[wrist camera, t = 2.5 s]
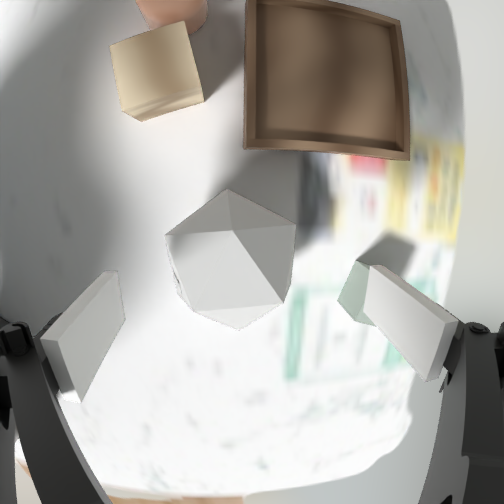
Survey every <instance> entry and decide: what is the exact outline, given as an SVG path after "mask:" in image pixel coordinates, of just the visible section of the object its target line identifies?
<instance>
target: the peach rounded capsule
mask: <svg viewBox="0 0 504 504" xmlns="http://www.w3.org/2000/svg"><path fill="white" fill-rule="evenodd" d="M135 1H136V3H137V5H138V7H139V9H140V11H141V13H142V15H143V17H144V19H145V21H146V23H147V25H148V27H149V29H150V30H153V29H157V28H160V27H163V26H166V25H170V24H173V23H177V22H180V21H184V22H185V26H186V29H187V33H188V35H190V34H192V33H194V32H196V31H197V30H198V29H199V28H200V27H201V26H202V25H203V24H204V23H205V21H206V19H207V15H208V4H207V0H135Z"/></svg>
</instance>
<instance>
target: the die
mask: <svg viewBox="0 0 504 504" xmlns="http://www.w3.org/2000/svg"><path fill="white" fill-rule="evenodd" d="M295 233H296V224H295V223H293V222H291V221H289V220H287V219H285V218H283V217H281V216H279V215H278V214H276V213H274V212H272V211H270V210H268V209H266V208H264V207H262V206H260V205H258V204H256V203H254V202H252V201H250V200H248V199H246V198H244V197H242V196H241V195H239V194H237V193H235V192H233V191H231V190H229V189H226V190H224V191H223V192H221V193H220V194H219V195H217V196H216V197H214V198H213V199H212V200H210V201H209V202H208V203H206V204H205V205H204V206H202V207H201V208H200V209H198V210H197V211H196V212H194V213H193V214H192V215H190V216H189V217H188V218H186V219H185V220H184V221H182V222H181V223H180V224H178V225H177V226H176V227H175V228H173V229H172V230H171V231H169V232H168V233H167V234H166V235H164V237H165V241H166V246H167V250H168V255H169V259H170V264H171V268H172V272H173V277H174V281H175V285H176V289H177V293H178V295H179V296H180V297H181V298H182V300H183V301H184V302H185V303H186V304H187V305H188V306H189V307H190V309H191V310H192V311H193V312H195V313H197V314H200V315H202V316H204V317H207V318H209V319H211V320H214V321H216V322H219V323H221V324H224V325H226V326H229V327H231V328H233V329H236V330H241V329H243V328H244V327H246V326H248V325H249V324H251V323H252V322H254V321H256V320H257V319H259V318H261V317H262V316H264V315H265V314H267V313H269V312H270V311H272V310H273V309H275V308H276V307H278V306H280V305H281V304H283V303H284V300H285V297H286V295H287V292H288V290H289V287H290V285H291V277H292V267H293V256H294V245H295Z"/></svg>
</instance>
